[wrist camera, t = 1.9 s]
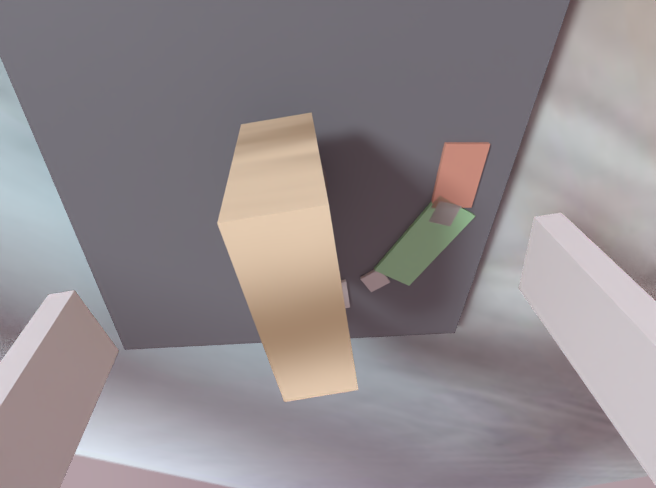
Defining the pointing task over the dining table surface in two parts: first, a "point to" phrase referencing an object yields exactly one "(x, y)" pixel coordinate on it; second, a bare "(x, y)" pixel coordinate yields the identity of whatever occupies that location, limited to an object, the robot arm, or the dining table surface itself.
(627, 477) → the dining table surface
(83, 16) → the dial board
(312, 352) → the beige boxy piece
